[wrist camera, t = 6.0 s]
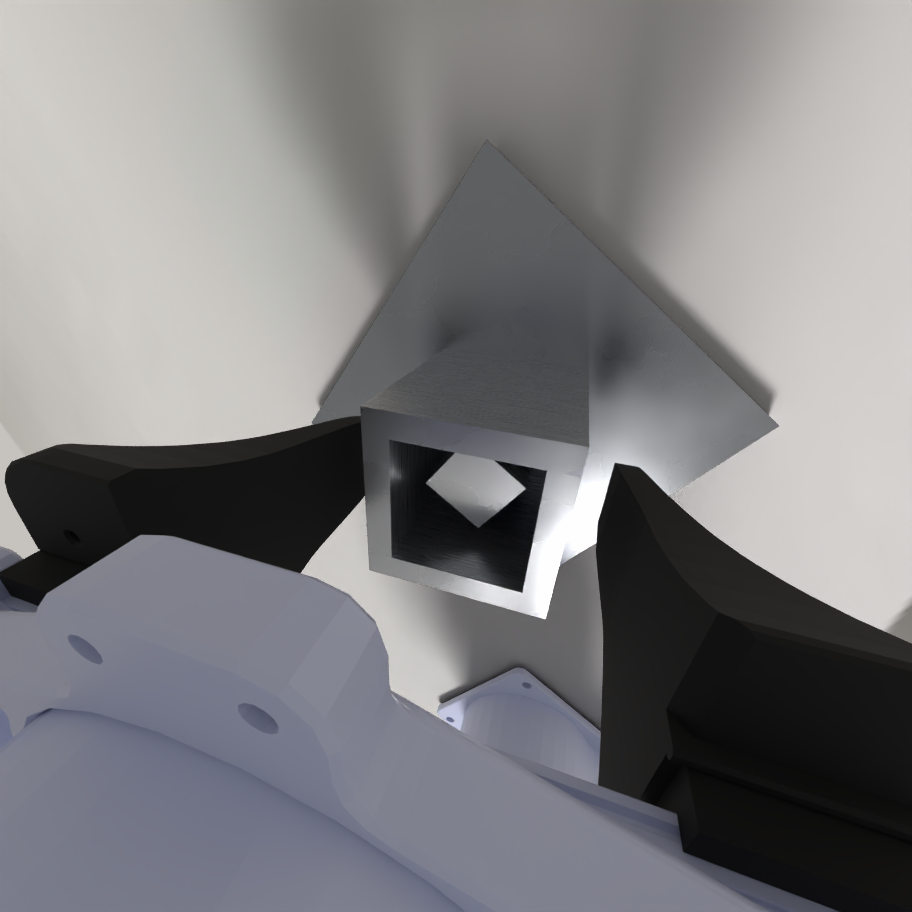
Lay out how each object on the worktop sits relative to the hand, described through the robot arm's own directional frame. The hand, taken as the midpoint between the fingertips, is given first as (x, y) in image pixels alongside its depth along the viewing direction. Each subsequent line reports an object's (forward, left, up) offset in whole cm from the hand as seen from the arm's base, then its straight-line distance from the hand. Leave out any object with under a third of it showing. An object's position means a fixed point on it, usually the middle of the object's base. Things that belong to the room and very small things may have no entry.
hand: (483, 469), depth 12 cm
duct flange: (0, 0, -4) cm, 4 cm away
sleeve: (0, 0, -3) cm, 3 cm away
